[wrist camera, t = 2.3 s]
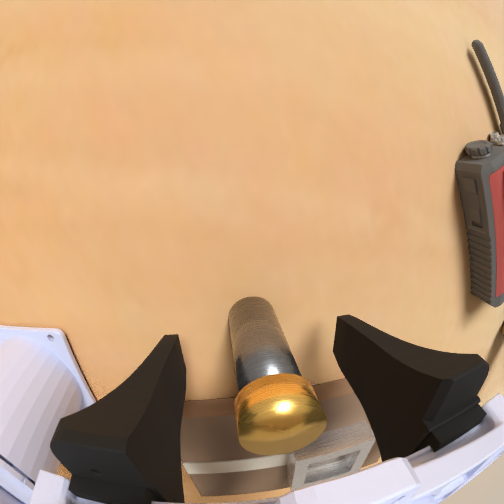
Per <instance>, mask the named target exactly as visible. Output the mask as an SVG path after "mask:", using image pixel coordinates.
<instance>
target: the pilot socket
mask: <svg viewBox="0 0 504 504" xmlns="http://www.w3.org/2000/svg"><path fill="white" fill-rule="evenodd" d="M375 440H376V439H375V436H374V434H373V432H372V430H371V428H370V427H369V425H368V423H367V421H366V420H365V421H362V422H359V423H356V424H352V425H349V426H346V427H342V428H339V429H335V430H331V431H327V432H323V433H322V434H321V435H320V436H319V437H318V438H317V439H316V440H315V441H313V442H312V443H310V444H309V445H307V446H305V447H303V448H301V449H299V450H296V451H293V452H290V453H288V464H287V469H286V475H287V478H288V482H289V486H290V489H291V491H292V490H295V489H298V488H302V487H305V486H308V485H311V484H315V483H319V482H323V481H327V480H331V479H334V478H338V477H341V476H344V475H348V474H351V473H354V472H357V471H359V470H360V468H361V466H362V465H363V463H364V461H365V459H366V457H367V455H368V454H369V452H370V450H371V448H372V446H373V444H374V442H375Z"/></svg>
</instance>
